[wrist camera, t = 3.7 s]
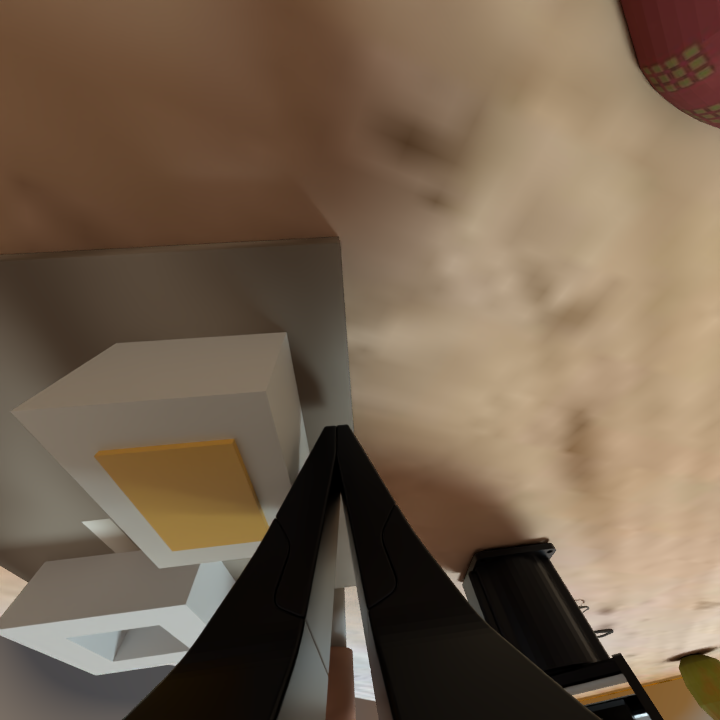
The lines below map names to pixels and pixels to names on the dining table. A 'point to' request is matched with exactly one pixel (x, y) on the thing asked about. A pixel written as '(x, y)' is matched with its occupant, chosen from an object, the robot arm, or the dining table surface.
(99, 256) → the board
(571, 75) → the dining table surface
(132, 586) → the pilot socket
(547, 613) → the robot arm
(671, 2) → the pliers
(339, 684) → the brown wooden peg
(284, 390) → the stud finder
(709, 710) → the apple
